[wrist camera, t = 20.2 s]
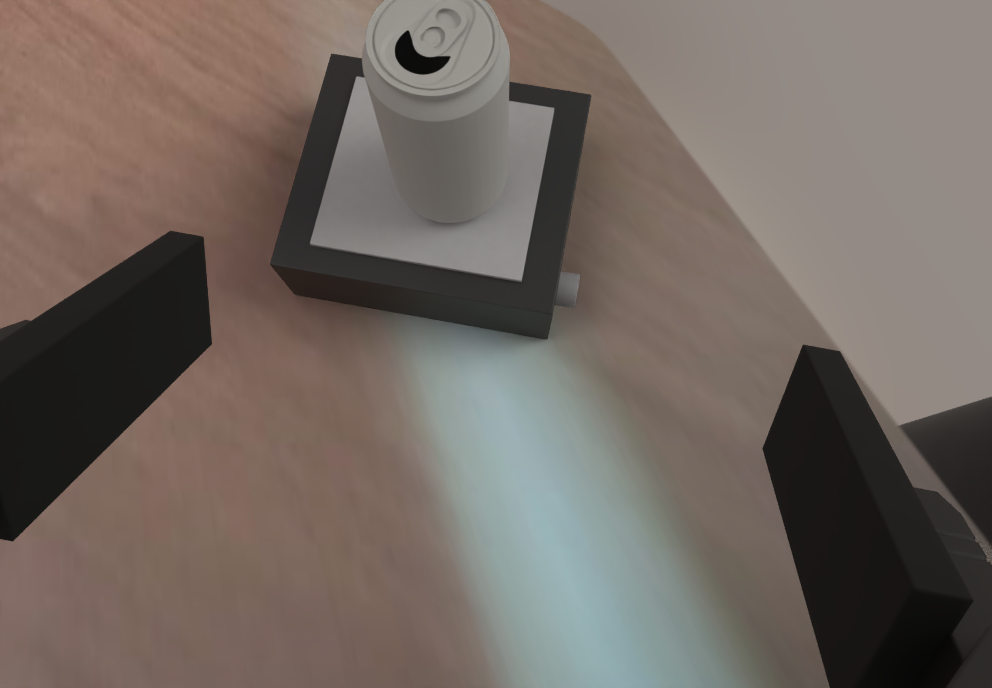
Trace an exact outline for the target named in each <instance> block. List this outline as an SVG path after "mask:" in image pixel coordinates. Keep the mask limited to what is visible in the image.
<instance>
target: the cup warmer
mask: <svg viewBox="0 0 992 688" xmlns="http://www.w3.org/2000/svg"><path fill="white" fill-rule="evenodd" d="M590 101H591V95H589V94H583V93H577V92H570V91H564V90H558V89H551V88H545V87H539V86H533V85H526V84H520V83H514V82H509V123H508V172H507V180H506V184H505V187H504V189H503V192H502V194H501V195H500V197H499V198H498V200H497V201H496V202H495V203H494V205H493V206H492V207H491V208H490V209H488V210H487V211H486V212H484V213H483V214H481V215H479V216H477V217H475V218H473V219H470V220H467V221H463V222H457V223H442V222H436V221H432V220H429V219H427V218H424V217H422V216H421V215H419V214H417V213H416V212H414V211H413V210H412V209H411V208H409V207H408V206H407V204H406V203H405V202H404V201H403V199H402V198H401V196H400V194H399V192H398V190H397V188H396V185H395V182H394V178H393V175H392V171H391V168H390V164H389V161H388V157H387V154H386V150H385V146H384V143H383V139H382V136H381V132H380V129H379V125H378V122H377V118H376V115H375V111H374V108H373V104H372V101H371V97H370V94H369V90H368V87H367V83H366V80H365V76H364V73H363V66H362V58H356V57H349V56H343V55H337V54H331V57H330V60H329V63H328V67H327V70H326V74H325V77H324V81H323V84H322V87H321V91H320V94H319V98H318V101H317V105H316V108H315V111H314V115H313V118H312V122H311V125H310V129H309V132H308V135H307V139H306V142H305V146H304V149H303V153H302V156H301V159H300V163H299V166H298V170H297V173H296V177H295V180H294V183H293V187H292V190H291V194H290V197H289V201H288V204H287V207H286V211H285V214H284V218H283V221H282V225H281V228H280V231H279V235H278V238H277V242H276V245H275V249H274V252H273V255H272V259H271V262H270V265H271V266H272V267H273V269H274V270H275V271H276V272H277V274H278V275H279V276H280V277H281V278H282V280H283V281H284V282H285V283H286V285H287V286H288V287H289V288H290V289H291V291H292V292H293V293H294V294H296V295H301V296H307V297H312V298H318V299H324V300H329V301H335V302H340V303H346V304H352V305H357V306H363V307H368V308H374V309H380V310H385V311H391V312H396V313H402V314H408V315H413V316H419V317H424V318H430V319H436V320H441V321H447V322H452V323H458V324H463V325H469V326H475V327H480V328H486V329H491V330H497V331H503V332H508V333H514V334H519V335H525V336H531V337H536V338H542V339H547V338H548V334H549V329H550V324H551V320H552V315H553V310H554V304H555V305H559V306H565V307H571V308H574V307H575V303H576V298H577V293H578V287H579V281H580V274H575V273H569V272H563V271H560V270H561V264H562V259H563V253H564V247H565V242H566V236H567V230H568V225H569V219H570V214H571V208H572V202H573V197H574V191H575V185H576V180H577V174H578V168H579V163H580V157H581V151H582V146H583V140H584V134H585V129H586V123H587V118H588V112H589V106H590Z"/></svg>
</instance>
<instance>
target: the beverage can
mask: <svg viewBox="0 0 992 688" xmlns="http://www.w3.org/2000/svg"><path fill="white" fill-rule="evenodd" d="M362 66H363V73H364V76H365V80H366V83H367V87H368V90H369V94H370V97H371V101H372V104H373V108H374V111H375V115H376V118H377V122H378V125H379V129H380V132H381V136H382V139H383V143H384V146H385V150H386V154H387V157H388V161H389V164H390V168H391V171H392V175H393V178H394V182H395V185H396V188H397V190H398V192H399V194H400V196H401V198H402V199H403V201H404V202H405V203H406V204H407V206H408V207H409V208H411V209H412V210H413V211H414V212H416V213H417V214H419V215H421V216H422V217H424V218H427V219H429V220H432V221H436V222H442V223H457V222H463V221H467V220H470V219H473V218H475V217H477V216H479V215H481V214H483V213H484V212H486V211H487V210H488V209H490V208H491V207H492V206H493V205H494V203H495V202H496V201H497V200H498V198H499V197H500V195H501V194H502V192H503V189H504V187H505V184H506V180H507V172H508V123H509V72H510V52H509V46H508V42H507V39H506V36H505V34H504V32H503V30H502V28H501V27H500V25H499V22H498V19H497V17H496V14H495V13H494V11H493V9H492V8H491V6H490V5H489V4H488V3H487V2H486V1H485V0H384V1H383V2H382V3H381V4H380V5H379V6H378V8H377V9H376V10H375V12H374V13H373V15H372V17H371V19H370V21H369V24H368V27H367V31H366V41H365V44H364V48H363V54H362Z"/></svg>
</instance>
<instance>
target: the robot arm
mask: <svg viewBox="0 0 992 688" xmlns="http://www.w3.org/2000/svg"><path fill="white" fill-rule="evenodd" d="M211 344H212V339H211V326H210V313H209V300H208V288H207V275H206V262H205V249H204V237H202V236H196V235H191V234H185V233H180V232H174V231H170V232H168V233H166V234H165V235H163V236H162V237H160V238H159V239H157V240H156V241H154V242H153V243H151V244H149V245H148V246H146V247H145V248H143V249H142V250H140V251H139V252H137V253H136V254H134V255H132V256H131V257H129V258H128V259H126V260H125V261H123V262H122V263H120V264H119V265H117V266H115V267H114V268H112V269H111V270H109V271H108V272H106V273H105V274H103V275H102V276H100V277H98V278H97V279H95V280H94V281H92V282H91V283H89V284H88V285H86V286H85V287H83V288H81V289H80V290H78V291H77V292H75V293H74V294H72V295H71V296H69V297H68V298H66V299H64V300H63V301H61V302H60V303H58V304H57V305H55V306H54V307H52V308H51V309H49V310H47V311H46V312H44V313H43V314H41V315H40V316H38V317H37V318H35V319H34V320H32V321H29V320H24V321H21V322H18V323H16V324H13V325H10V326H7V327H4V328H1V329H0V539H4V540H8V541H14V540H15V539H16V538H17V537H18V536H19V535H20V534H21V533H22V532H23V531H24V530H25V529H26V528H27V527H28V526H29V525H30V524H31V523H32V522H33V521H34V520H35V519H36V518H37V517H38V516H39V515H40V514H41V513H42V512H43V511H44V510H45V509H46V508H47V507H48V506H49V505H50V504H51V503H52V502H53V501H54V500H55V499H56V498H57V497H58V496H59V495H60V494H61V493H62V492H63V491H64V490H65V489H66V488H67V487H68V486H69V485H70V484H71V483H72V482H73V481H74V480H75V479H76V478H77V477H78V476H79V475H80V474H81V473H82V472H83V471H84V470H85V469H86V468H87V467H88V466H89V465H90V464H91V463H92V462H93V461H94V460H95V459H96V458H97V457H98V456H99V455H100V454H101V453H102V452H103V451H104V450H106V449H107V448H108V447H109V446H110V445H111V444H112V443H113V442H114V441H115V440H116V439H117V438H118V437H119V436H120V435H121V434H122V433H123V432H124V431H125V430H126V429H127V428H128V427H129V426H130V425H131V424H132V423H133V422H134V421H135V420H136V419H137V418H138V417H139V416H140V415H141V414H142V413H143V412H144V411H145V410H146V409H147V408H148V407H149V406H150V405H151V404H152V403H153V402H154V401H155V400H156V399H157V398H158V397H159V396H160V395H161V394H162V393H163V392H164V391H165V390H166V389H167V388H168V387H169V386H170V385H171V384H172V383H173V382H174V381H175V380H176V379H177V378H178V377H179V376H180V375H181V374H182V373H183V372H184V371H185V370H186V369H187V368H188V367H189V366H190V365H191V364H192V363H193V362H194V361H195V360H196V359H197V358H198V357H199V356H200V355H201V354H202V353H203V352H204V351H205V350H206V349H207V348H208V347H209V346H210V345H211ZM763 452H764V456H765V459H766V463H767V466H768V470H769V473H770V477H771V480H772V484H773V487H774V491H775V495H776V498H777V502H778V505H779V509H780V512H781V516H782V519H783V523H784V526H785V530H786V534H787V537H788V541H789V544H790V548H791V551H792V555H793V558H794V562H795V565H796V569H797V573H798V576H799V580H800V583H801V587H802V590H803V594H804V597H805V601H806V604H807V608H808V612H809V615H810V619H811V622H812V626H813V629H814V633H815V636H816V640H817V643H818V647H819V651H820V654H821V658H822V661H823V665H824V668H825V672H826V675H827V679H828V682H829V686H830V688H992V565H991V564H990V562H987V561H986V558H987V557H986V555H985V553H984V552H983V550H982V548H981V547H980V545H979V543H978V542H975V537H974V535H973V533H972V532H971V530H970V528H969V527H968V525H967V523H966V522H965V520H964V518H963V517H962V515H961V514H960V513H959V512H958V511H957V510H956V509H955V508H954V507H953V506H952V505H951V504H949V503H948V502H947V501H946V500H945V499H944V498H943V497H942V496H941V495H940V494H939V493H938V492H935V491H929V490H924V489H919V488H914V487H913V486H912V484H911V482H910V481H909V479H908V477H907V475H906V473H905V471H904V469H903V468H902V466H901V464H900V462H899V460H898V458H897V456H896V455H895V453H894V451H893V449H892V447H891V445H890V443H889V441H888V440H887V438H886V436H885V434H884V432H883V430H882V428H881V427H880V425H879V423H878V421H877V419H876V417H875V415H874V414H873V412H872V410H871V408H870V406H869V404H868V402H867V401H866V399H865V397H864V395H863V393H862V391H861V389H860V388H859V386H858V384H857V382H856V380H855V378H854V376H853V374H852V373H851V371H850V369H849V367H848V365H847V363H846V361H845V360H844V358H843V356H842V354H841V352H840V351H835V350H830V349H824V348H819V347H813V346H808V345H803V346H802V349H801V351H800V354H799V356H798V359H797V361H796V364H795V366H794V369H793V372H792V374H791V377H790V379H789V382H788V384H787V387H786V390H785V392H784V395H783V397H782V400H781V402H780V405H779V408H778V410H777V413H776V415H775V418H774V420H773V423H772V426H771V428H770V431H769V433H768V436H767V438H766V441H765V444H764V446H763Z"/></svg>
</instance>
